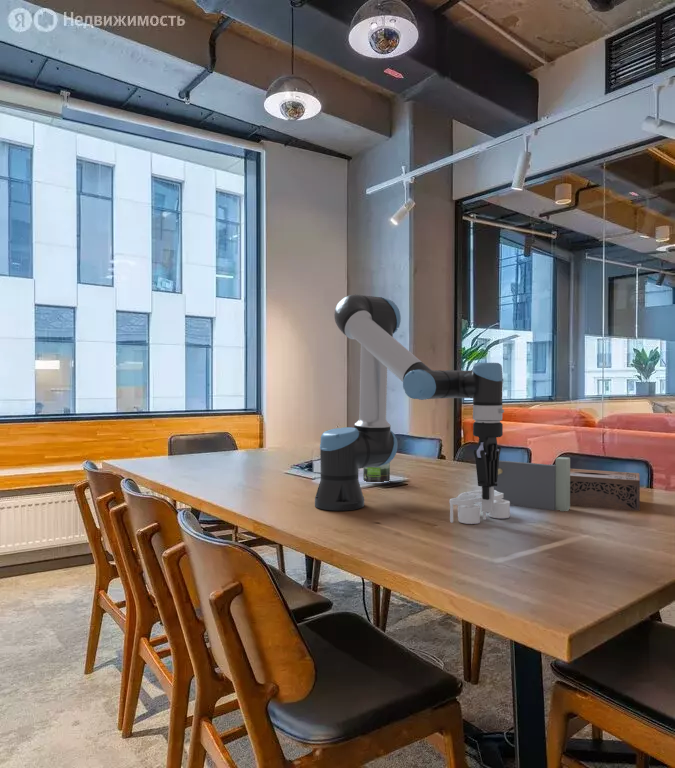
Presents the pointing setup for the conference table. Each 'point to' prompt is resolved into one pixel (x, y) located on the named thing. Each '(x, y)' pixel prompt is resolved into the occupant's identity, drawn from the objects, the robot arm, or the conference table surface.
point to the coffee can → (377, 473)
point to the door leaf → (535, 484)
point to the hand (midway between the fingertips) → (487, 511)
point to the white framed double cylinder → (478, 507)
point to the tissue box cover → (605, 489)
